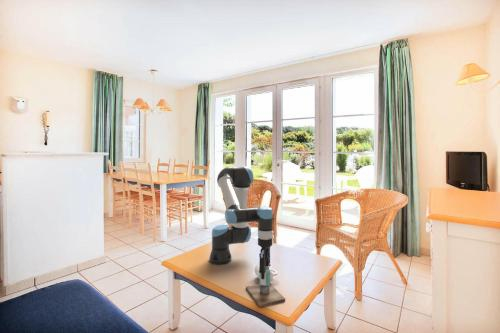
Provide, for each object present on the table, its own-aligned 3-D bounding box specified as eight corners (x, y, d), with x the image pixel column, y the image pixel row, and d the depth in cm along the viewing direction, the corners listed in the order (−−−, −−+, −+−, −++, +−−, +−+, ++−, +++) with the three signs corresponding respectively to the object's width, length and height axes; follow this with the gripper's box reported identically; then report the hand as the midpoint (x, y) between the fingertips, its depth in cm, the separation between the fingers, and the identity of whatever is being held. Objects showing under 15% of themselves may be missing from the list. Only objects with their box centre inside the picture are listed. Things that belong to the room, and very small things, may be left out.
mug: (259, 285, 141) (259, 271, 140) (254, 276, 150) (254, 263, 150) (279, 282, 144) (279, 268, 143) (273, 274, 153) (273, 261, 153)
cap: (270, 286, 128) (270, 272, 128) (259, 286, 128) (260, 272, 128) (269, 280, 134) (269, 267, 133) (259, 280, 133) (259, 268, 133)
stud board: (245, 288, 137) (246, 271, 136) (269, 283, 142) (269, 267, 142) (259, 307, 120) (259, 287, 120) (285, 301, 125) (285, 282, 125)
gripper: (267, 244, 120) (267, 292, 121) (276, 232, 137) (275, 274, 138) (252, 242, 122) (252, 289, 123) (262, 231, 140) (262, 272, 141)
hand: (264, 281), depth 131 cm, fingers closed on cap, 6 cm apart
